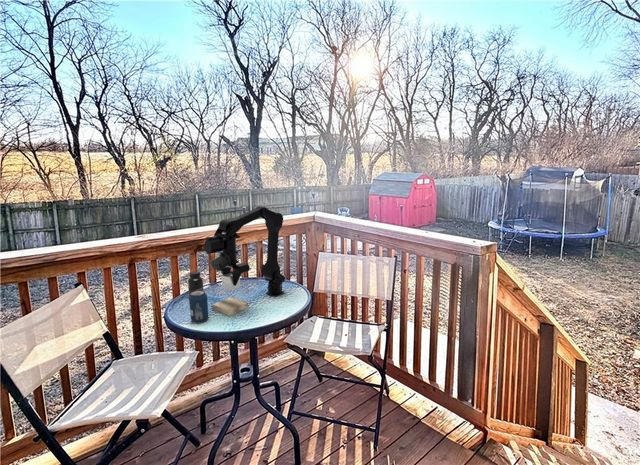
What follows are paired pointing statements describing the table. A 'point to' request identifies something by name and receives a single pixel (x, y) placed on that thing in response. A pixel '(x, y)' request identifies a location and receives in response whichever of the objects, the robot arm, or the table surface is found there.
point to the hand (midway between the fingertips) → (231, 284)
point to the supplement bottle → (195, 282)
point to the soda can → (198, 306)
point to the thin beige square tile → (230, 306)
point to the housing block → (229, 282)
